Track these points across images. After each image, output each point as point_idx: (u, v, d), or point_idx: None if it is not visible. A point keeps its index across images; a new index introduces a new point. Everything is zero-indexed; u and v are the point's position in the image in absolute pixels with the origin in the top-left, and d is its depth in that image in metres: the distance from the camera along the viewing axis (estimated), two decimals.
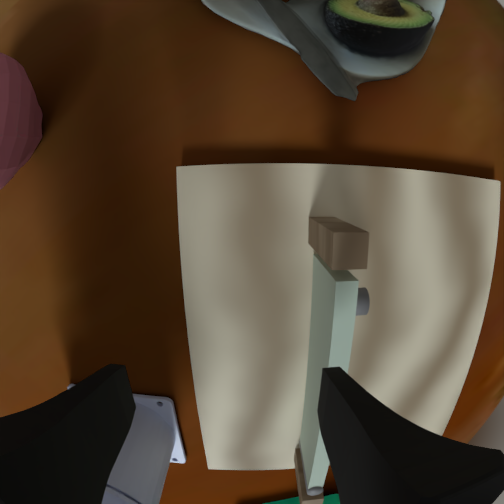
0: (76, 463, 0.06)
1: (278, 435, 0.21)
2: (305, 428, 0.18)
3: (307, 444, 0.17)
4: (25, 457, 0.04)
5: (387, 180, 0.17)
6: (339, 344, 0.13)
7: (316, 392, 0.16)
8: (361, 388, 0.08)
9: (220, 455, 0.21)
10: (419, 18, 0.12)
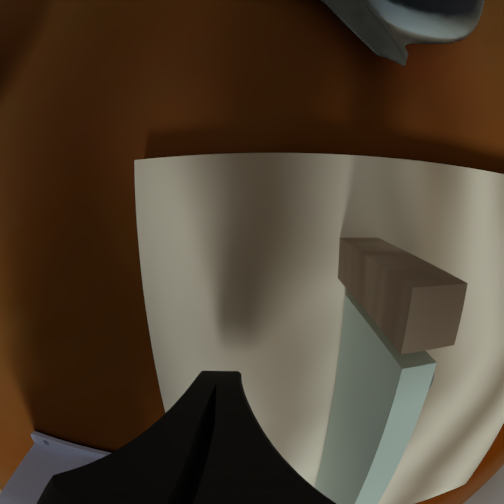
0: None
1: None
2: None
3: None
4: (177, 498, 0.04)
5: (449, 183, 0.10)
6: (389, 449, 0.07)
7: (340, 482, 0.09)
8: (240, 396, 0.08)
9: None
10: None
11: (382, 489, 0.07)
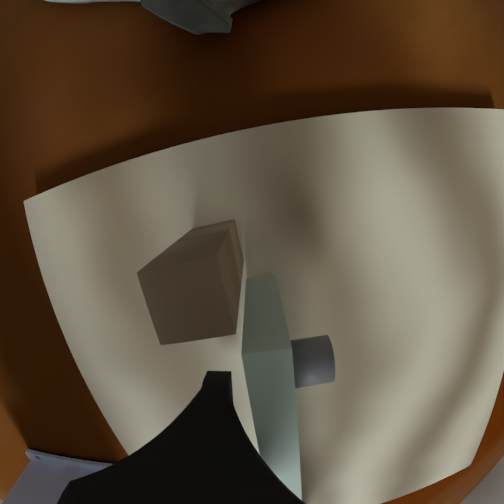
0: None
1: None
2: None
3: None
4: None
5: (315, 138, 0.10)
6: (274, 447, 0.07)
7: None
8: (225, 396, 0.08)
9: None
10: None
11: (296, 492, 0.07)
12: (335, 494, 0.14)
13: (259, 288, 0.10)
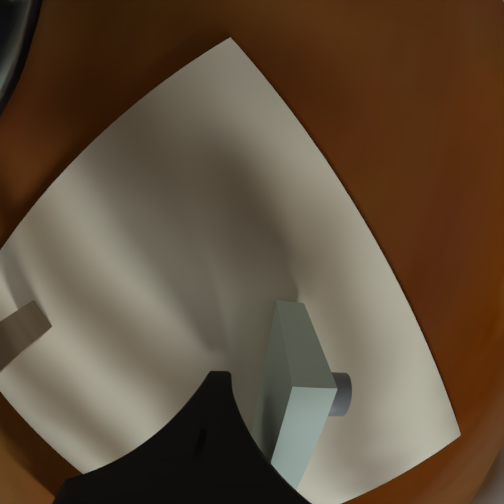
0: None
1: None
2: None
3: None
4: None
5: (44, 217, 0.10)
6: (283, 468, 0.07)
7: None
8: (228, 396, 0.08)
9: None
10: None
11: None
12: None
13: (292, 315, 0.10)
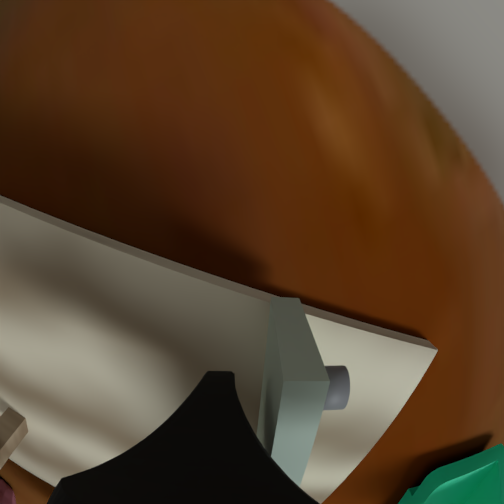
0: None
1: None
2: None
3: None
4: None
5: None
6: (284, 464, 0.07)
7: None
8: (232, 396, 0.08)
9: None
10: None
11: None
12: None
13: (286, 310, 0.10)
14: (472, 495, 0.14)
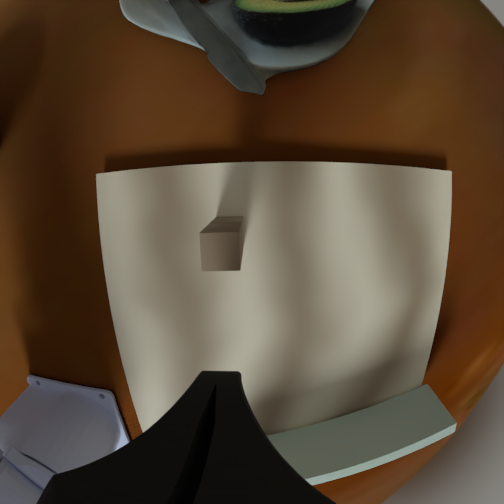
0: None
1: None
2: (281, 446, 0.19)
3: None
4: (177, 498, 0.04)
5: (302, 175, 0.16)
6: (418, 444, 0.15)
7: (352, 445, 0.17)
8: (240, 396, 0.08)
9: None
10: None
11: (384, 462, 0.15)
12: None
13: None
14: None
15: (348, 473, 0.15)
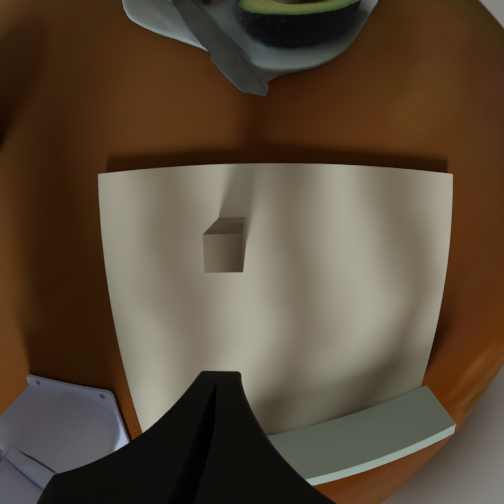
0: None
1: None
2: (281, 446, 0.19)
3: None
4: (177, 498, 0.04)
5: (304, 177, 0.17)
6: (417, 445, 0.15)
7: (352, 446, 0.17)
8: (240, 396, 0.08)
9: None
10: (340, 1, 0.12)
11: (383, 463, 0.15)
12: None
13: None
14: None
15: (348, 474, 0.15)
